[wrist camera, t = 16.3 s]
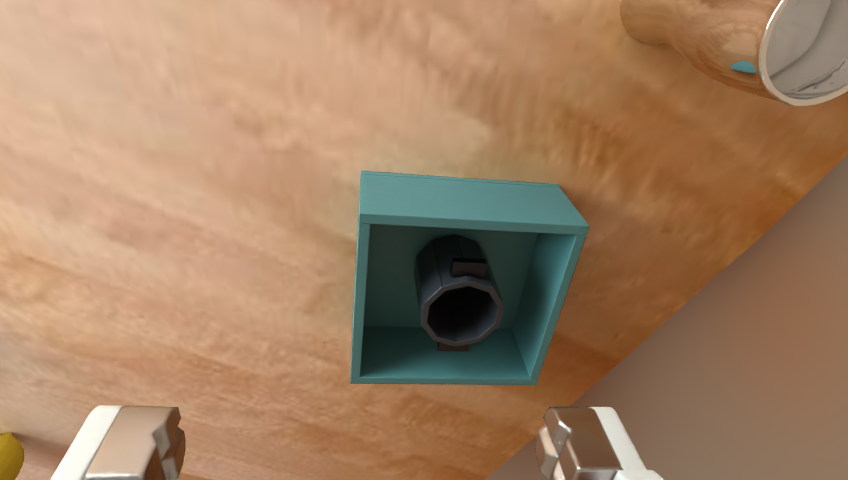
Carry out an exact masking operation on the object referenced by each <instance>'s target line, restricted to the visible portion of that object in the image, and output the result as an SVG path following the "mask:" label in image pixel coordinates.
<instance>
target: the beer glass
mask: <svg viewBox="0 0 848 480" xmlns="http://www.w3.org/2000/svg"><path fill="white" fill-rule="evenodd" d="M620 16H621V20H622V24H623V26H624V28H625V30H626V31H627V33H628V34H629V35H630V36H631V37H632V38H634V39H635V40H637V41H639V42H641V43H644V44H649V45H668V46H670V47H671V48H672V49H674V50H675V51H676V52H677V53H678V54H679V55H680V56H682V57H683V58H684V59H685V60H686V61H687V62H689V63H690V64H691V65H692V66H694V67H695V68H696V69H698V70H699V71H701V72H702V73H704V74H705V75H707V76H708V77H710V78H712V79H714V80H716V81H718V82H720V83H723V84H725V85H727V86H730V87H732V88H735V89H738V90H741V91H744V92H747V93H750V94H754V95H757V96H761V97H765V98H769V99H773V100H776V101H779V102H781V103H784V104H787V105H792V106H811V105H816V104H820V103H823V102H826V101H829V100H831V99H834V98H836V97H838V96H840V95H842V94H844V93H845V92H847V91H848V0H621V2H620Z"/></svg>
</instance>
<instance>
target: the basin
mask: <svg viewBox="0 0 848 480" xmlns="http://www.w3.org/2000/svg"><path fill="white" fill-rule="evenodd" d="M588 229H589V225H588V224H587V222H586V221H585V220H584V218H583V217H582V216H581V214H580V213H579V212H578V211H577V209H576V208H575V207H574V205H573V204H572V203H571V201H570V200H569V199H568V197H567V196H566V195H565V193H564V192H563V191H562V190H561V188H560V187H559V186H558V185H557V184H543V183H529V182H514V181H500V180H485V179H470V178H456V177H441V176H426V175H412V174H397V173H383V172H368V171H361V177H360V196H359V215H358V234H357V253H356V272H355V290H354V309H353V328H352V352H351V375H350V383H351V384H470V385H536V383H537V380H538V377H539V374H540V371H541V368H542V365H543V362H544V359H545V356H546V353H547V350H548V347H549V344H550V342H551V339H552V336H553V333H554V330H555V327H556V324H557V321H558V318H559V315H560V312H561V309H562V306H563V303H564V300H565V297H566V294H567V291H568V288H569V285H570V282H571V279H572V276H573V273H574V270H575V267H576V264H577V261H578V258H579V255H580V252H581V250H582V247H583V244H584V241H585V238H586V235H587V232H588ZM452 235H459V236H462V237H465V238H468V239H470V240H473V241H476V242H477V243H478V244H479V246H480V247H481V249H482V250H483V252H484V254H485V255H486V257H487V259H488V262H489V265H490V267H491V270H492V273H493V276H494V278H495V281H496V284H497V286H498V289H499V292H500V295H501V297H502V300H503V303H504V311H503V314H502V318H501V322H500V326H499V327H498V328H497V329H495V330H494V331H493V332H492V333H491V334H489V335H488V336H487V337H486V338H485V339H483V340H482V341H481V340H480V342H476V343H471V344H470V345H469V349H468V351H438V348H437V343H438V342H437V341H434V340H433V339H432V338H431V337H430V335H429V334H428V333H427V332H426V330H425V329H424V328H423V326H422V325H421V322H420V314H419V307H418V299H417V292H416V284H415V277H414V271H415V263H416V256H417V254H418V253H419V252H420V251H421V250H423V249H424V248H425V247H426V246H427V245H428V244H429V243H430V242H431V241H432V240H434V239H438V238H441V237H446V236H452Z"/></svg>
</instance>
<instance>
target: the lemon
mask: <svg viewBox="0 0 848 480" xmlns="http://www.w3.org/2000/svg"><path fill="white" fill-rule="evenodd" d="M23 462H24V449H23V447H22V445H21V443H20V442H19V441H18V440H17V439H16V438H15V437H14V436H13V434H12V433H4V434H2V433H0V480H15V479H16V477H17V475H18V474H19V472H20V469H21V467H22V465H23Z"/></svg>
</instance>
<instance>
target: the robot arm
mask: <svg viewBox="0 0 848 480" xmlns="http://www.w3.org/2000/svg"><path fill="white" fill-rule="evenodd" d="M543 418H544V421H545V424H546V425H545V426H543V427H542V428H541V429H539V430H538V434H537V437H536V446H535V447H536V448H535V452H536V458H537V462H538V466H539V469H540V472H541V473H542V474H543V475H544V476H545V477H546V478H547V479H548V480H664V479H663V478H662V477H661V476H660V475H658V474H657V473H656V472H655V471H653V470H647V469H646V468H645V466H644V464H643V462H642V460H641V458H640V456H639V454H638V452H637V451H636V449H635V447H634V445H633V443H632V441H631V439H630V437H629V436H628V434H627V432H626V430H625V428H624V426H623V424H622V422H621V421H620V419H619V417H618V415H617V413H616V411H615V410H613V408H612V407H549V408H548V409H547V410H546V412H545V414H544V417H543ZM180 419H181V416H180V412H179V408H178V407H156V406H110V405H98V406H97V407H96V408H95V409H94V410H93V411H92V412H91V413H90V414H89V416H88V417H87V419H86V421H85V423H84V424H83V426H82V428H81V429H80V431H79V433H78V434H77V436H76V438H75V439H74V441H73V443H72V444H71V446H70V448H69V449H68V451H67V453H66V454H65V456H64V458H63V460H62V461H61V463H60V465H59V466H58V468H57V470H56V471H55V473H54V475H53V476H52V478H51V480H176V479H178V477H179V474H180V471H181V468H182V465H183V460H184V455H185V434H184V431H183V430H181V429H180V428H179V427H178V424H179V422H180Z"/></svg>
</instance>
